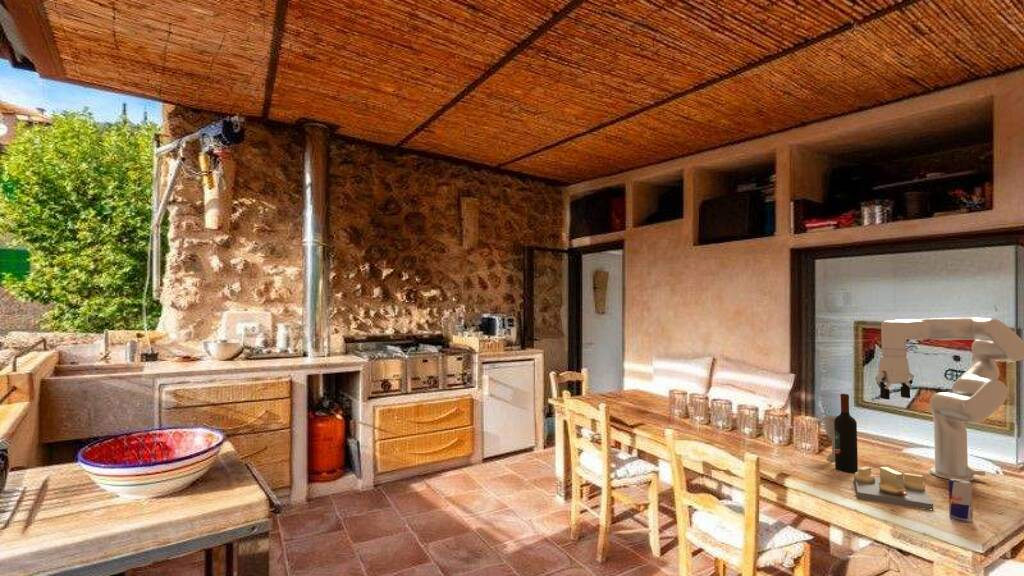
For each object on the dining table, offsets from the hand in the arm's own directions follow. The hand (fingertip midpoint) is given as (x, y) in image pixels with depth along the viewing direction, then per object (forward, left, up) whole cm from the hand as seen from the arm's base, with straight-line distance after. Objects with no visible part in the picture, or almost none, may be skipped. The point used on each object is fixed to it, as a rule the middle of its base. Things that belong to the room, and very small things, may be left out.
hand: (895, 398), depth 190 cm
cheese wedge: (+3, +25, -28) cm, 38 cm away
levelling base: (+4, +20, -30) cm, 37 cm away
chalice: (+20, -14, -31) cm, 39 cm away
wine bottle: (+16, -2, -31) cm, 34 cm away
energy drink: (-12, +34, -31) cm, 47 cm away
